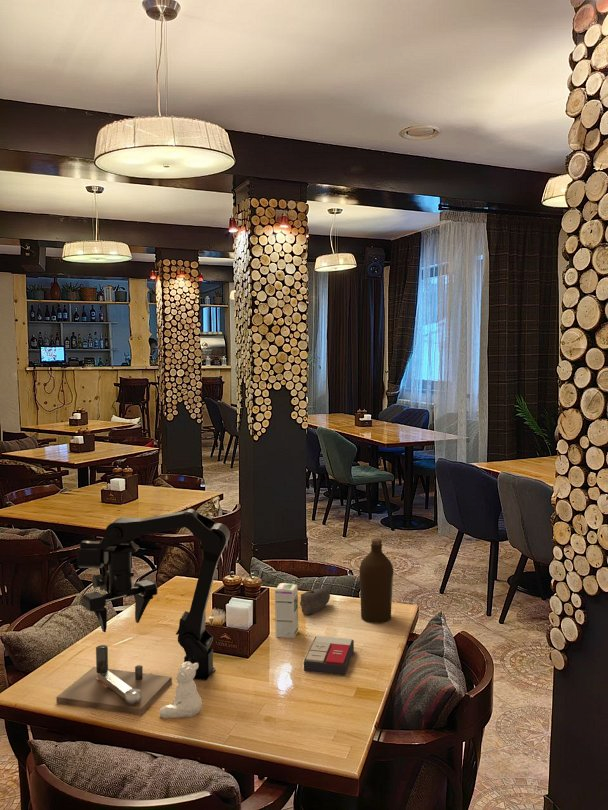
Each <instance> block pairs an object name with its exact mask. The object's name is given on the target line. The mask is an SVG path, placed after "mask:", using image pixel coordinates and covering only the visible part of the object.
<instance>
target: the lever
mask: <svg viewBox="0 0 608 810" xmlns="http://www.w3.org/2000/svg"><path fill="white" fill-rule="evenodd" d="M95 665H96V666H95V667H96V672H97V673H98V679H99V680H101V681H102V682H103V683H105V684H106V685H107V686H108V687H110V688H111V689H112V690H113V691H115V692H116V693H117V694H119V695H120V696H121V697H122V698H124V699H125V702H126V704H129V705H134V704H138V703H139V702H141V690H140V689H132V688H131V687H130V686H128V685H127V684H126V683H124V682H123V681H122V680H120V679H119V678H118V677H116V676H115V675H114V674H112V673H111V672H110V671H108V669H109V647H108V645H106V644H102V645H97V646H96V647H95Z"/></svg>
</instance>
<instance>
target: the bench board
mask: <svg viewBox="0 0 608 810" xmlns="http://www.w3.org/2000/svg"><path fill="white" fill-rule="evenodd" d="M143 667H144V666H143V665H141V664H139V665H136V666H134V671H128V670H120V669H111V668H108V671H110V672H111V673H112V674H114V675H115V676H116V677H118V678H119V679H120V680H122V681H123V682H124V683H126V684H127V685H128V686H130V687H131V688H132V689H140V690H141V702H139V703H138V704H134V705H129V704H126V702H125V699H124V698H122V697H121V696H120V695H119V694H117V693H116V692H115V691H113V690H112V689H111V688H110V687H108V686H107V685H106V684H105V683H103V682H102V681H101V680H99V679H98V673H97V672H96V666H93V667H92V668H90V669H89V670H88V671H87V672H85V673H84V674H83V675H82V676H80V677H79V678H78V679H77V680H75V681H74V682H73V683H72V684H71V685H69V686H68V687H67V688H66V689H64V690H63V691H62V692H61V693H59V694H58V695H57V696H55V697H56V698H55V699H56V704H61V705H67V706H74V707H81V708H88V707H89V708H90V709H95V710H101V711H102V710H103V711H108V712H109V711H110V712H117V713H124V714H130V715H137V716H142V715H143V714H144V713H145V712H146V711H147V710H148V709H149V707H151V706H152V705H153V703H154V702H155V701H156V700H157V699H158V698H159V697H160V696H161V694H163V693H164V692H165V690H167V688H168V687H169V686H170V685H171V684H172V683H171V682H173V681H172V680H173V678H172V676H169V675H167V676H166V675H160V674H152V673H146V672H145V673H144V672H143ZM170 683H171V684H170Z"/></svg>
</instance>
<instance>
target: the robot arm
mask: <svg viewBox="0 0 608 810" xmlns="http://www.w3.org/2000/svg"><path fill="white" fill-rule="evenodd" d="M177 529H187V530H189V532H190V533H191V534H192V535H193V536H194V537H195V538H196V539H197V540H199V541H201V542H202V562H201V566H200V570H199V574H198V578H197V581H196V586H195V588H194V589H195V590H194V593H193V597H192V601H191V604H190V605H191V606H190V608H189V611H187V610H184V612H183V613H182V615H181V617H180V619H179V623H178V629H177V630H176V633H175V635H177V643H178V644H179V645H180V647H182V649H183V651H184V653H185V656H184V657H183V663H184V662H186V661H188V662H191V663H192V664H194V663H198V665H199V666H198V669H196V674H195V677H194V678H193V680H199V681H207V680H208V679H210V677H211V676H212V675H213V674H214V672H215V671H216V667H214V649H213V648H210V647H211V645H212V643H213V640H214V636H213V635H212V634H211V633H210V632H209V630H207V629H206V620H207V619H206V609H207V606H208V602H209V599H210V594H211V590H212V586H213V583H214V579H215V575H216V571H217V567H218V564H219V560H220V558H221V556H222V554H223V552H224V550H225V548H226V546H227V544H228V542H229V540H230V536H231V531H230V530H229V528H228V526H227V525H225V524H223V523H221V522H220V523H219V522H217V521H215V520H213V518H211V517H210V518H209V517H207V516H205V515H203V514H201V513H200V512H198V511H196V510H195V509H193V508H188V509H186V510H183V511H178V512H170V513H165V514H161V515H155V516H150V517H149V516H148V517H145V518H144V517H141V518H140V517H134V516H130V517H128V516H122V517H119V518H116V519H115V520H114V521H112V522H110V523H109V524H108V525H107V526H106V528H105V531H104V536H103V538H102V539H101V540H100V541H98V540H97V541H94V540H93V541H90V540H82V541H81V542H80V543H79V546H80V547H79V548H78V552H77V556H76V565H77V566H78V568H81V569H88V568H89V569H102V568H103V567H104V566H105V565H106V564H107V563H108V566H107V567H108V570H106V571H105V572H106V573H105V576H103V575H102V574H101V573H99V574H95V575H92V579H91V583H92V588H94V589H96V588H99V590H100V591H103V590H104V591H105V592H106V593H103V594H101V593H100V592H98V591H94V592H90V593H85V594H83V596H82V597H81V606H82V608H84V609H86V610H88V611H90V612H92V613H94V614H95V616H96V618H97V621H98V623H99V625H100V628H101V631H102V632H103V633H106V632H107V627H108V626H107V625H108V609H107V608H106V607H105V606H106V605H107V602H112V601H114V600H119V599H120V600H121V599H123V598H127V597H132V596H133V598H134V603H135V607H134V609H135V611H134V618H135V623H137V624H139V623H140V621H141V619H142V617H143V615H144V612H145V610H146V608H147V606H148V604H149V602H150V601H151V600H153V599H154V596H157V595H158V592H159V591H158V588H159V587H158V585H157V583H154V582H153V581H150V580H149V579H144V580H140V581H136V582H134V584H133V585H132V583H133V581H132V580H133V579H132V577H133V578H134V576H135V572H134V571H132V553H136V552H137V551H138V550H140V546H139V545H138V544H136V543H135V542H134V540H135V539H137V538H139V537H141V536H144V535H149V534H155V533H161V532H167V531H173V530H177ZM128 542H129V543H128ZM113 545H114V546H113ZM115 545H116V546H115ZM107 592H108V593H107Z"/></svg>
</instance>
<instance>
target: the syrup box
mask: <svg viewBox="0 0 608 810" xmlns="http://www.w3.org/2000/svg"><path fill="white" fill-rule="evenodd" d="M298 590H299V589H298V584H296V583H289V582H287V583H283V582H281V583H278V585H277V587H276V588H275V589H274V615H275V622H274V623H275V637H277V638H282V639H283V638H284V639H294V638H295V637H296V636H297V634H298V632H299V603H298V601H299V596H298Z"/></svg>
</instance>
